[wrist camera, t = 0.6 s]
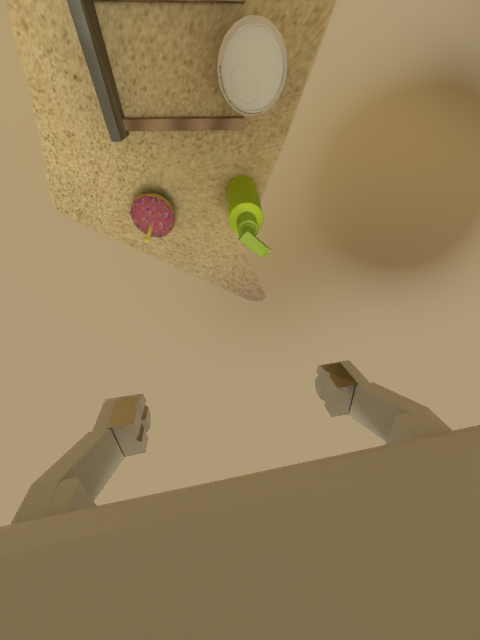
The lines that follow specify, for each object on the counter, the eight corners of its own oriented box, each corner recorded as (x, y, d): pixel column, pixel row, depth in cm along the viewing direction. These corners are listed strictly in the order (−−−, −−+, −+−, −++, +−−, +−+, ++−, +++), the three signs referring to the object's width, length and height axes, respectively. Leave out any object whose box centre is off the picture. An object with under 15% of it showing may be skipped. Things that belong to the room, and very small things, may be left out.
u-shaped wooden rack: (244, -26, 32) (248, -36, 28) (243, 133, 44) (245, 139, 40) (72, -29, 31) (54, -39, 27) (120, 134, 43) (111, 141, 39)
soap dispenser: (245, 214, 54) (254, 267, 41) (221, 192, 51) (222, 243, 37) (264, 193, 51) (281, 243, 38) (240, 168, 48) (249, 214, 34)
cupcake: (176, 229, 56) (169, 259, 48) (136, 221, 54) (122, 251, 46) (179, 190, 50) (171, 217, 42) (134, 180, 48) (117, 205, 40)
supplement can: (246, 115, 42) (255, 135, 32) (206, 69, 38) (202, 76, 28) (282, 63, 38) (305, 67, 28) (241, 5, 33) (251, -16, 23)
